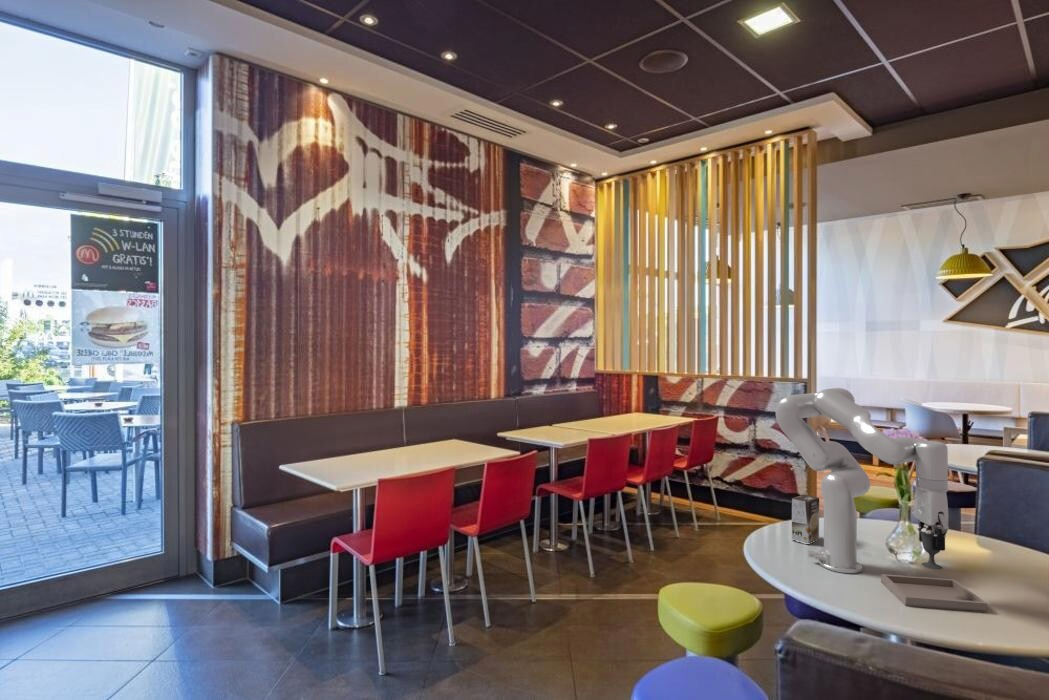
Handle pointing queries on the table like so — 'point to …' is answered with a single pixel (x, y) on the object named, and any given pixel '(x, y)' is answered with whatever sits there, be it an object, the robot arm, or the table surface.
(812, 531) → the coffee box
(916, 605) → the tray
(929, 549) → the sundae
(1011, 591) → the table surface
